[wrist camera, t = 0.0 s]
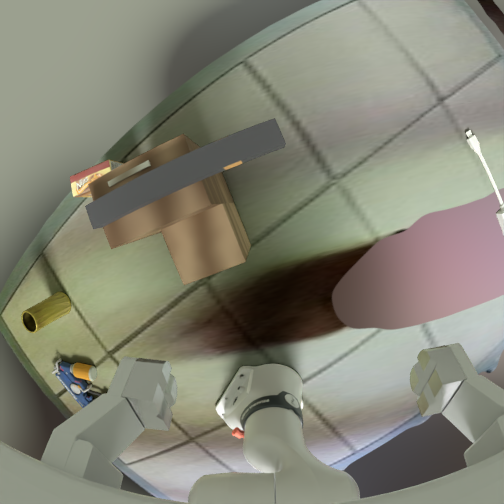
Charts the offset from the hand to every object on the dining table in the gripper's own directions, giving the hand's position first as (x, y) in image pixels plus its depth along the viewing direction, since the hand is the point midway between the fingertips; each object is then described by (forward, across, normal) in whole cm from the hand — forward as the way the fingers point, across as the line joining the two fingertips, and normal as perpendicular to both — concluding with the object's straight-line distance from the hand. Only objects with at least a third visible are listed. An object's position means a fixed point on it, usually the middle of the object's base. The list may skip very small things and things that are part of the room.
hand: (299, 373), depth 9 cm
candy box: (+53, -30, -7) cm, 61 cm away
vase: (+44, -52, -33) cm, 76 cm away
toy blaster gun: (+37, -50, -56) cm, 83 cm away
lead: (+27, -10, 0) cm, 29 cm away
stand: (+50, -14, -14) cm, 54 cm away
